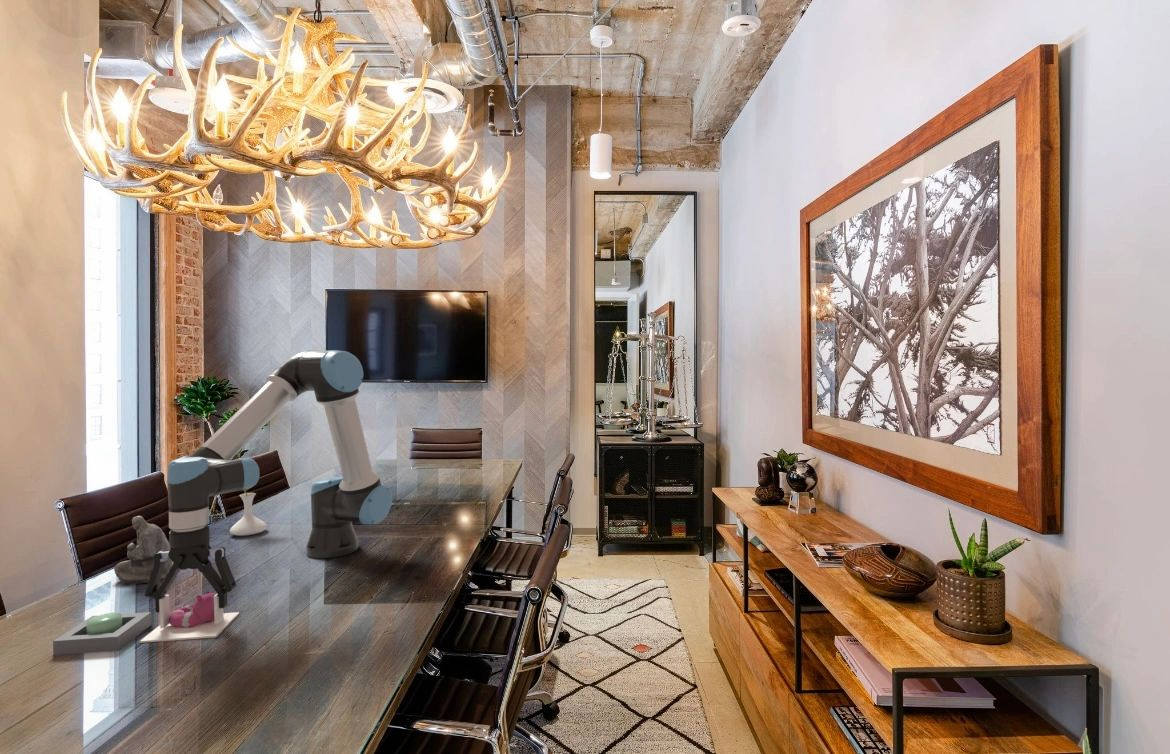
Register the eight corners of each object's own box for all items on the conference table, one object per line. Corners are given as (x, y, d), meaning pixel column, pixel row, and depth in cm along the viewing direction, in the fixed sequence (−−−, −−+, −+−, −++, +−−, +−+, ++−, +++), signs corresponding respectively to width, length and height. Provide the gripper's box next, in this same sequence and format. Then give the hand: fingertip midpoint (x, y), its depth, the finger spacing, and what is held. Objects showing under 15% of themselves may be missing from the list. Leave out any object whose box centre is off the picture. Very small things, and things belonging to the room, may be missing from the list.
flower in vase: (273, 531, 207) (272, 461, 206) (240, 540, 197) (238, 466, 196) (253, 526, 214) (252, 458, 213) (220, 534, 204) (218, 463, 203)
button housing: (151, 624, 134) (150, 612, 134) (118, 650, 123) (117, 636, 122) (92, 629, 133) (92, 615, 132) (53, 655, 121) (52, 641, 121)
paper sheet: (239, 613, 140) (239, 612, 140) (215, 637, 128) (215, 635, 128) (170, 618, 138) (170, 616, 138) (139, 642, 126) (139, 641, 126)
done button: (128, 624, 131) (128, 611, 131) (111, 637, 125) (110, 623, 125) (98, 626, 130) (98, 613, 130) (79, 639, 124) (79, 625, 124)
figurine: (107, 581, 161) (104, 516, 161) (152, 567, 172) (150, 506, 172) (138, 588, 156) (136, 521, 156) (182, 573, 167) (180, 510, 167)
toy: (236, 609, 142) (226, 584, 136) (214, 643, 135) (203, 619, 129) (190, 603, 142) (178, 578, 136) (166, 637, 135) (152, 612, 129)
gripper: (251, 520, 138) (253, 612, 138) (143, 525, 134) (146, 620, 135) (237, 529, 130) (239, 627, 131) (122, 534, 127) (125, 635, 128)
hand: (192, 623), depth 133 cm, fingers closed on toy, 10 cm apart
